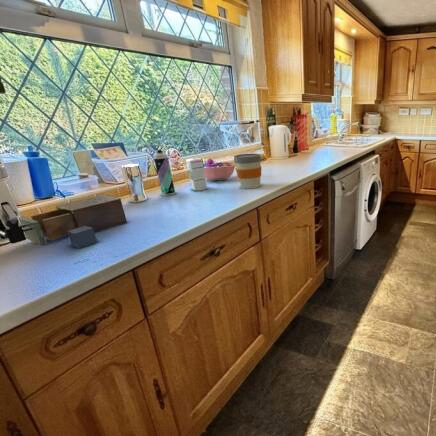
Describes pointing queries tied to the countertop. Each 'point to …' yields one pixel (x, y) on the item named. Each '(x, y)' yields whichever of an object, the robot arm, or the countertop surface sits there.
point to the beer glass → (134, 182)
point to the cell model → (218, 170)
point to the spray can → (164, 173)
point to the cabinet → (96, 212)
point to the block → (82, 236)
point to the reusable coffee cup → (248, 170)
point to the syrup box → (196, 174)
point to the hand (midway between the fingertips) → (13, 238)
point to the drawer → (46, 226)
